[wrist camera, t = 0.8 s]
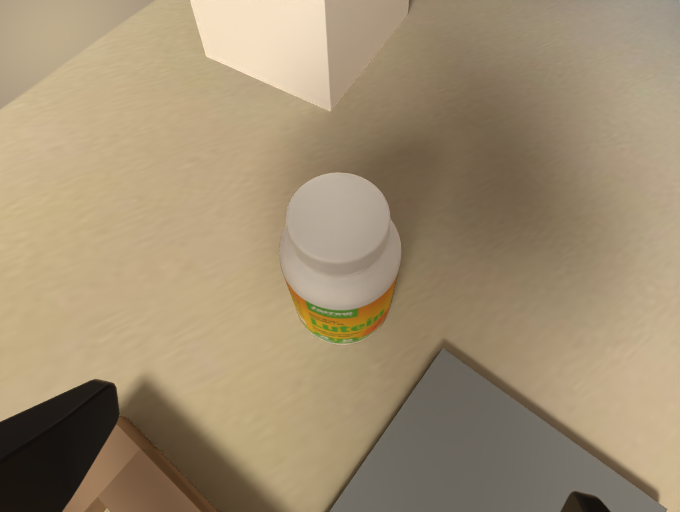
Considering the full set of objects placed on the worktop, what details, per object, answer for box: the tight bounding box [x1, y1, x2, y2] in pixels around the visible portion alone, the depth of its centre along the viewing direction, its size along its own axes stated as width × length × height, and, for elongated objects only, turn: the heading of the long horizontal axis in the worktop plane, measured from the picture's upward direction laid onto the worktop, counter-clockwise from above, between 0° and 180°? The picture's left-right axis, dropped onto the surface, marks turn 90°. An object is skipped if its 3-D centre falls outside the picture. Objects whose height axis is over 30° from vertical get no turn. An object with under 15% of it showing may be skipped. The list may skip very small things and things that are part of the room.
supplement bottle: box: [279, 172, 401, 345], centre depth 21 cm, size 5×5×10 cm
